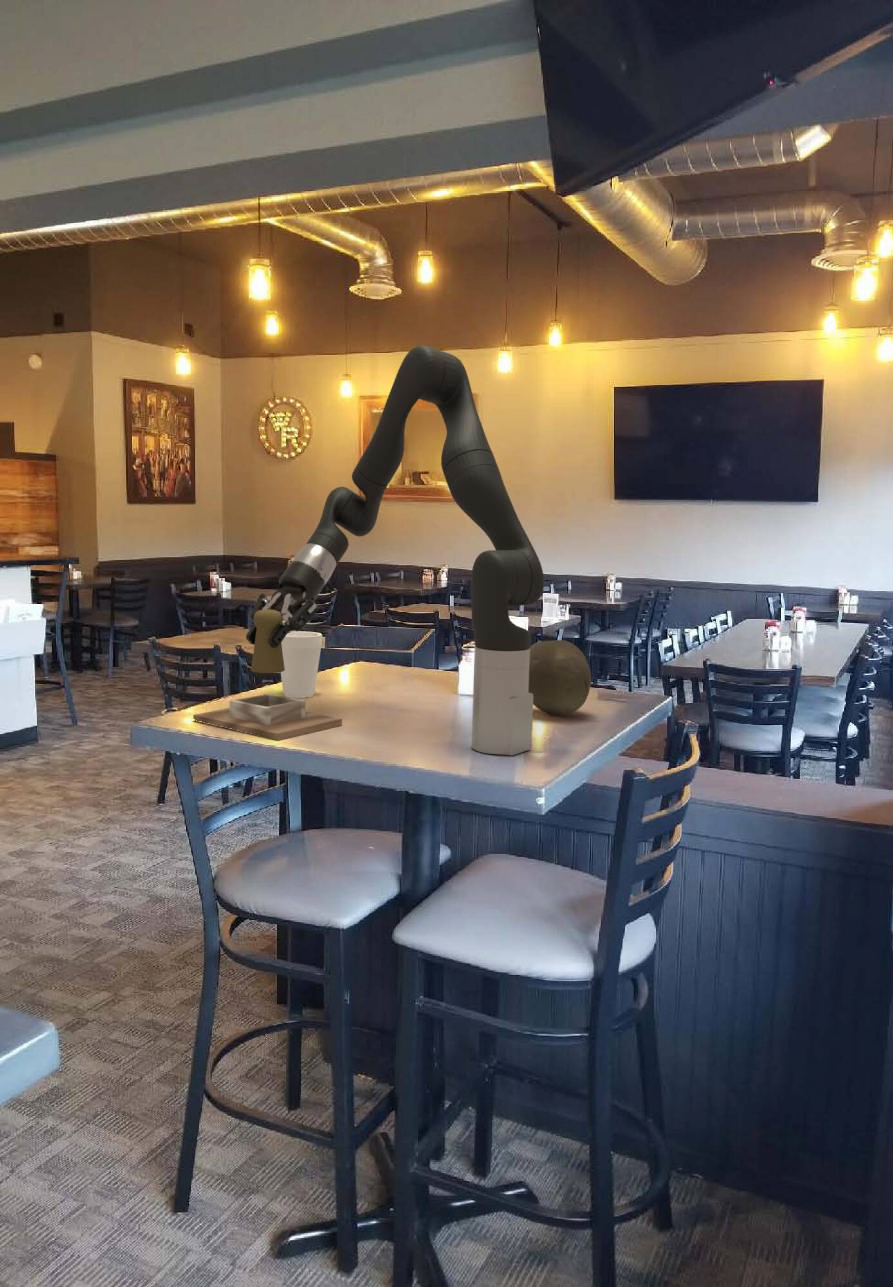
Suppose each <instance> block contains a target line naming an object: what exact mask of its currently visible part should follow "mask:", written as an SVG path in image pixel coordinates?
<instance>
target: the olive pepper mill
mask: <svg viewBox="0 0 893 1287" xmlns="http://www.w3.org/2000/svg"><path fill="white" fill-rule="evenodd" d="M281 618H282V614H281V613H280V612H279V611H276V610H271V609H270V610H269V609H266V610H260V611H257V612H256V613H255V615H254V621H253V625H255V626H256V628H257V630H256V637H255V644H254V646H253V652H252V653H253V654H252V659H251V660H252V662H251V668H250V671H251V672H253V673H257V674H258V673H260V674H277V673H281V672H283V671H285V668H284V660H283V652H282V644H279V645H278V647H277V648H272V647H271V646H270V644H269V643H268V638H269V637H270V635H271V634H272V633H273V631H274V630H275V628H276V627H277V625H280V621H281Z"/></svg>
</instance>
